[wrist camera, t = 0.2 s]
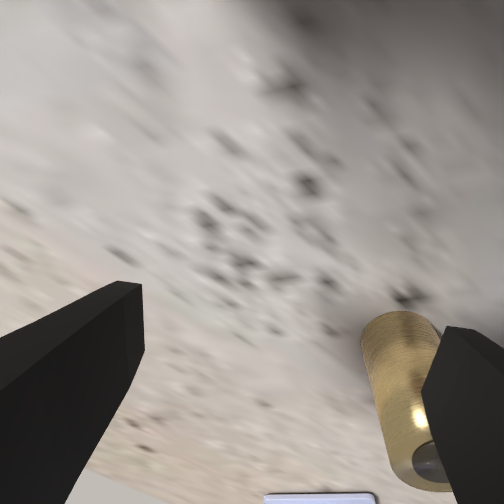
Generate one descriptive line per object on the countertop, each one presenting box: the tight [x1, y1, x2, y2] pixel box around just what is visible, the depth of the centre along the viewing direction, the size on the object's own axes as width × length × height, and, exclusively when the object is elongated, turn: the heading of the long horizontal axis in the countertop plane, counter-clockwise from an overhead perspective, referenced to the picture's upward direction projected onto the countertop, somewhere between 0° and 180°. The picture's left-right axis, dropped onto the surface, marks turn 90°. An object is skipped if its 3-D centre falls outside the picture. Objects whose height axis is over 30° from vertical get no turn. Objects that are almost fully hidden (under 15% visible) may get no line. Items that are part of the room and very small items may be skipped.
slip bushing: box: [361, 311, 453, 492], centre depth 17 cm, size 4×4×7 cm
